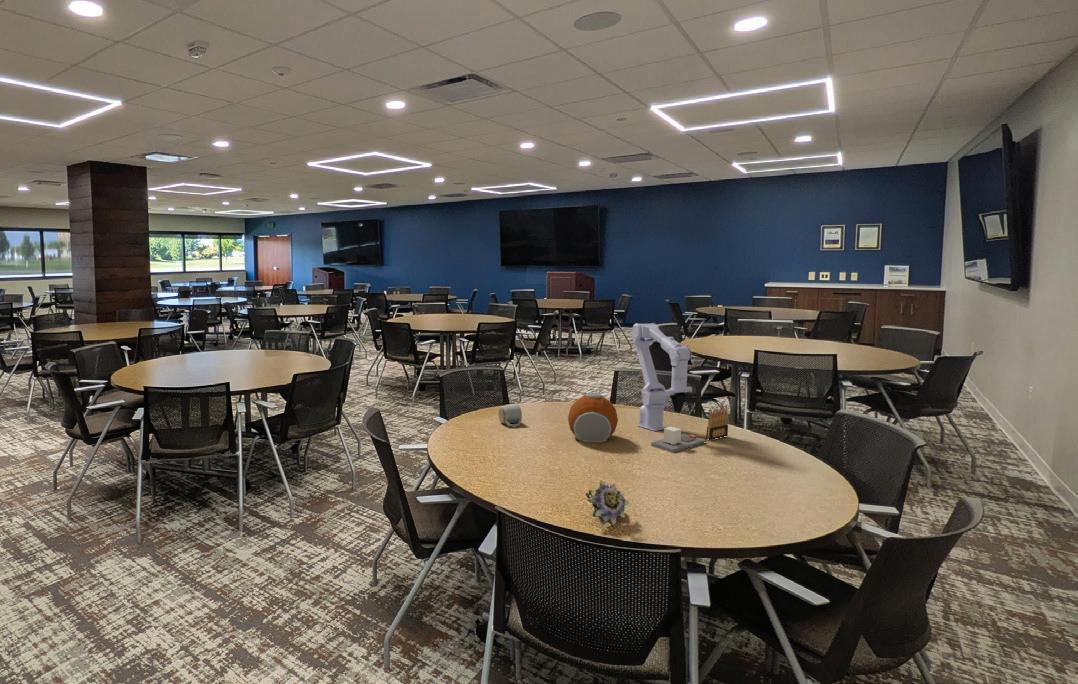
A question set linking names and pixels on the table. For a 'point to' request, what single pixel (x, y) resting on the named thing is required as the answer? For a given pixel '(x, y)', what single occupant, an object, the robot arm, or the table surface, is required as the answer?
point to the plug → (672, 435)
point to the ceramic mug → (510, 415)
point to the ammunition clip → (717, 424)
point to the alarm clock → (592, 418)
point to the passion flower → (608, 502)
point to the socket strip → (684, 443)
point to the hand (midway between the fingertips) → (677, 411)
